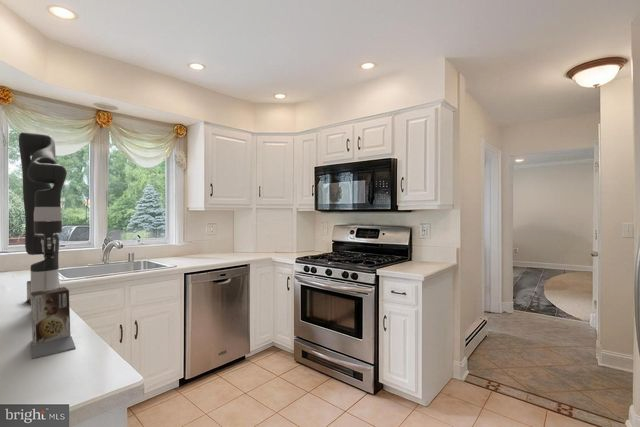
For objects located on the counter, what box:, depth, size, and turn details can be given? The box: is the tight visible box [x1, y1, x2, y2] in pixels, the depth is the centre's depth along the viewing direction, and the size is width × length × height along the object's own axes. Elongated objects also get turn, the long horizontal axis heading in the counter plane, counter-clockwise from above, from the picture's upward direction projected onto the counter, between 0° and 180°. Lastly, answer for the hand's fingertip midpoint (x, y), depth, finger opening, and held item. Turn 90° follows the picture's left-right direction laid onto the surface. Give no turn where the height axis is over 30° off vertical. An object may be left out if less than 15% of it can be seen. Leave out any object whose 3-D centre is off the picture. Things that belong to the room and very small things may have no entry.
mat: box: [31, 335, 76, 360], centre depth 99 cm, size 12×10×1 cm
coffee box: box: [30, 286, 71, 344], centre depth 107 cm, size 9×6×16 cm
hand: (48, 268), depth 113 cm, fingers closed
